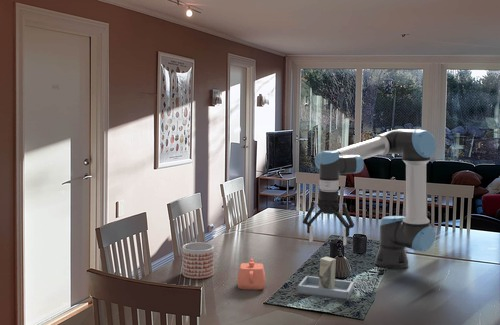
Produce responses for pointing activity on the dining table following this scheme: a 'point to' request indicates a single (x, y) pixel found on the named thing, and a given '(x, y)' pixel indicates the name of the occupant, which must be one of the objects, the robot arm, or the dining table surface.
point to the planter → (198, 260)
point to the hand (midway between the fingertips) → (327, 243)
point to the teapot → (251, 276)
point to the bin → (339, 292)
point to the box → (327, 273)
